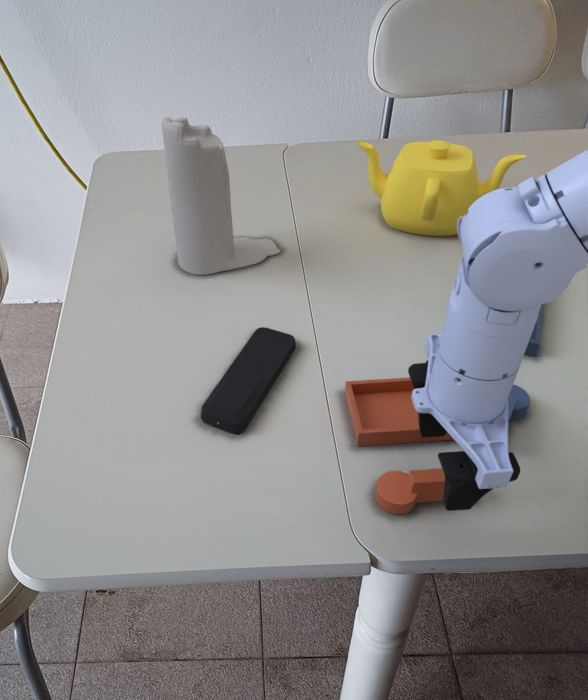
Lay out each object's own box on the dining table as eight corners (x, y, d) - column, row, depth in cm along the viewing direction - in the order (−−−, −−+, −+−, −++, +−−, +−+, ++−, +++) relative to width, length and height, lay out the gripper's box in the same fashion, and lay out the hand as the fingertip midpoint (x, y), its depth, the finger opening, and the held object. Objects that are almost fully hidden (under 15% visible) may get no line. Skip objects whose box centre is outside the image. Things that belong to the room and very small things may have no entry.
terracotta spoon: (461, 476, 60) (468, 456, 58) (474, 509, 57) (481, 489, 55) (371, 482, 59) (374, 462, 57) (379, 516, 57) (383, 496, 55)
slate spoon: (507, 458, 61) (515, 438, 59) (469, 443, 62) (476, 423, 60) (529, 402, 66) (538, 381, 64) (494, 389, 67) (501, 368, 65)
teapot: (340, 240, 89) (346, 167, 82) (355, 186, 100) (362, 117, 93) (508, 260, 84) (531, 184, 77) (505, 200, 95) (524, 129, 88)
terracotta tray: (448, 387, 68) (451, 374, 67) (469, 438, 63) (473, 426, 61) (344, 393, 68) (345, 381, 66) (356, 446, 63) (358, 433, 61)
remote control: (259, 336, 76) (197, 420, 66) (259, 324, 75) (196, 408, 64) (298, 347, 74) (241, 436, 64) (298, 335, 73) (240, 424, 63)
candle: (285, 259, 86) (288, 111, 73) (184, 279, 84) (167, 130, 70) (268, 231, 91) (268, 89, 78) (173, 250, 89) (155, 106, 75)
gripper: (399, 294, 52) (379, 408, 61) (454, 434, 41) (420, 547, 50) (487, 289, 52) (454, 404, 61) (563, 427, 41) (509, 541, 50)
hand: (444, 468), depth 56 cm, fingers open, 7 cm apart
